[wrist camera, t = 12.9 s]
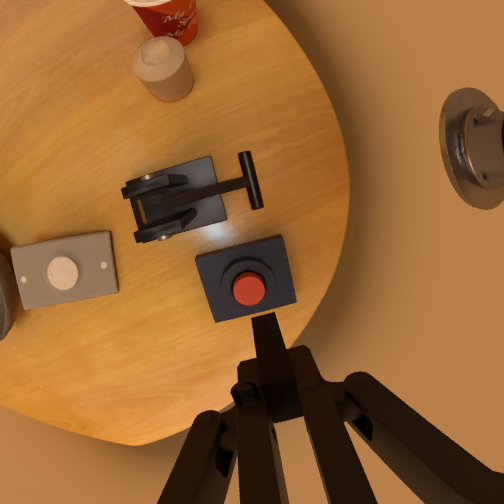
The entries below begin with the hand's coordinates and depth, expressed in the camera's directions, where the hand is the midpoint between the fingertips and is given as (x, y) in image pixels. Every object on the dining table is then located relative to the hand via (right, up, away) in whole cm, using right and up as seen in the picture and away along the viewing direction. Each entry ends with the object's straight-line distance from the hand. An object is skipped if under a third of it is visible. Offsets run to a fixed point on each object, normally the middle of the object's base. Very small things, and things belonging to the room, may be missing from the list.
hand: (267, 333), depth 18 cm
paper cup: (-11, +34, +11) cm, 38 cm away
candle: (-11, +26, +13) cm, 31 cm away
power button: (-1, +1, +17) cm, 17 cm away
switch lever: (-6, +11, +10) cm, 16 cm away
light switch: (-26, +4, +18) cm, 31 cm away
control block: (-2, +2, +20) cm, 20 cm away
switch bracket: (-10, +12, +17) cm, 23 cm away
